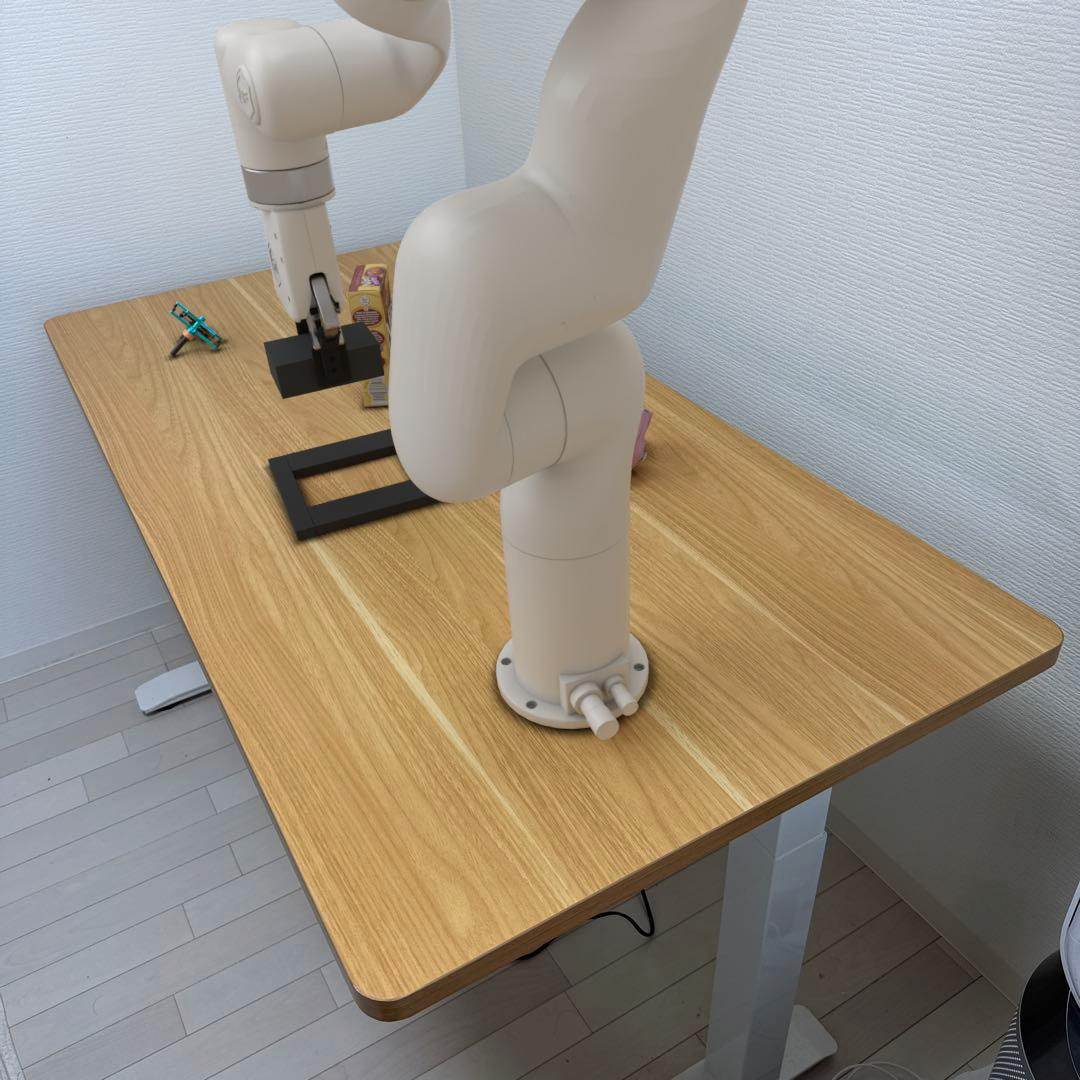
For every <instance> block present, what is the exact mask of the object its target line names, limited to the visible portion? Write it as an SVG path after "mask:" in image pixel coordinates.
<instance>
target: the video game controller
mask: <svg viewBox="0 0 1080 1080" xmlns="http://www.w3.org/2000/svg"><path fill="white" fill-rule="evenodd" d="M652 418H653V412H651V411H650V410H648V409H646V408H643V410H642V415H641V420H640V424H639V429H638V433H637V437H636V442H635V447H634V452H633V460H632V468H631V470H632V469H634V468H635V466H636V465H637V463H638V462H640V463H643V462H644V461H645V460H646V458H647V457H648V456H647V451H645V452H644V450H645V447H646V443H647V440H646V439H645V436H646V433H647V430H648V428H649V426H650V423H651V420H652Z"/></svg>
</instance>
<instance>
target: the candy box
mask: <svg viewBox="0 0 1080 1080" xmlns="http://www.w3.org/2000/svg"><path fill="white" fill-rule="evenodd" d="M346 292H347V298H348V303H349V305H348V306H349V311H350V317H351V324H352V323H356V322H361V321H363V322H364V323H365V324H366V326H367V327H368V328H369V330H370V331H371V333H372V334H373V335H374V337H375V338H376V340H377V341H378V342H379V344H380V349H381V356H382V362H383V368H384V374H385V376H381V377H376V378H372V379H368V380H364V381H360V385H361V390H362V391H361V392H362V399H363V405H364V407H366V408H368V407H369V408H372V407H389V398H388V396H389V369H390V348H391V326H392V305H393V297H392V291H391V285H390V276H389V268H388V264H386V263H370V264H369V263H368V264H361V265H355V267H354V271H353V275H352V277H351V281H350V283H349V287H348V289H347V291H346Z"/></svg>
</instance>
